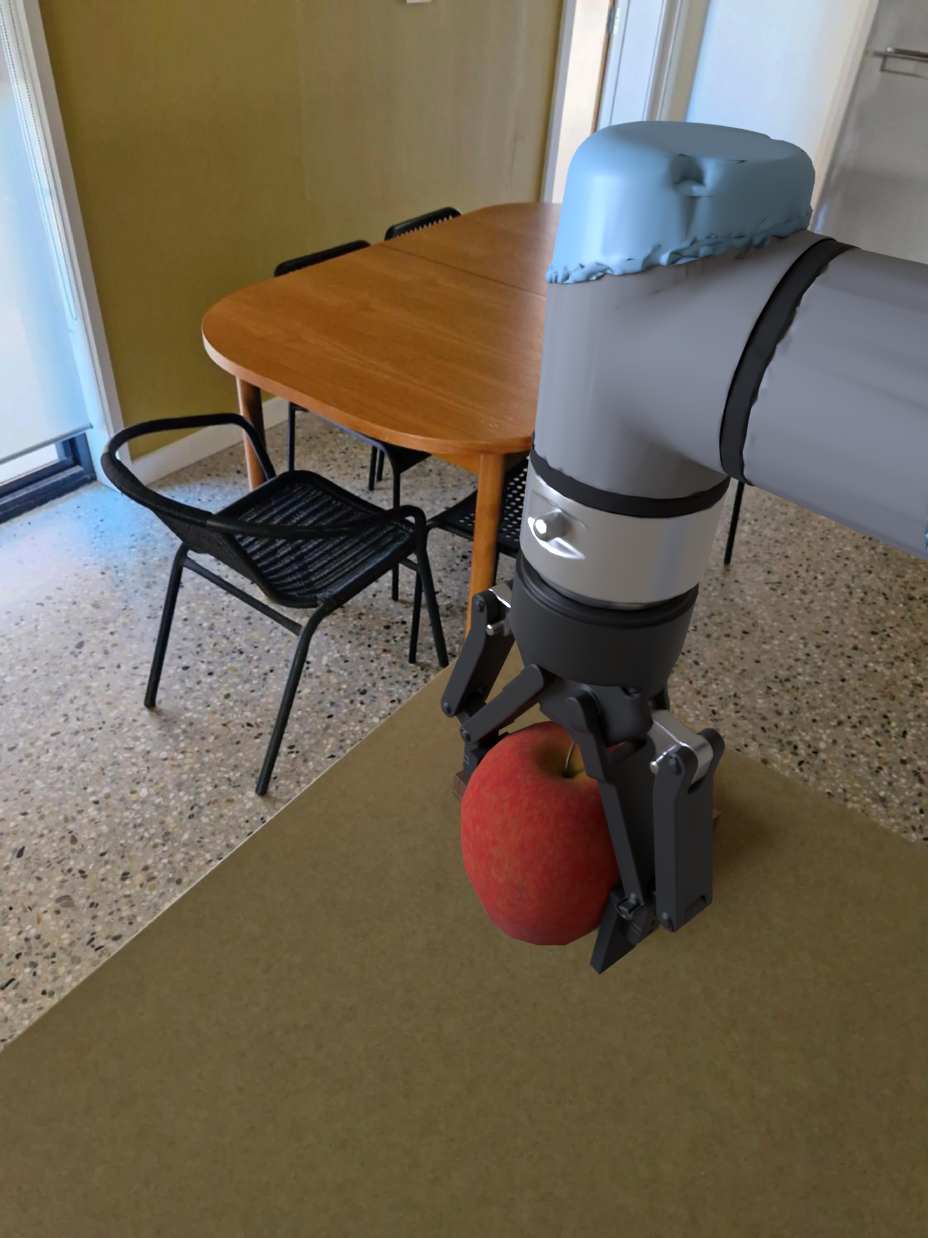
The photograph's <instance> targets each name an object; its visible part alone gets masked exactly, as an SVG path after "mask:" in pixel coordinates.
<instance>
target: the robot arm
mask: <svg viewBox="0 0 928 1238" xmlns="http://www.w3.org/2000/svg"><path fill="white" fill-rule="evenodd" d="M565 179H566V180H565V186H564V192H563V197H562V203H561V208H560V215H559V220H558V224H557V225H558V227H557V231H556V237H555V244H554V248H553V254H552V260H551V263H549V265H548V266H547V268H546V271H545V278H544V281H545V282H546V284H547V287H546V297H545V298H546V299H545V311H544V312H545V313H544V322H543V323H544V325H543V326H544V327H543V335H542V336H543V338H542V347H541V349H542V350H541V361H540V373H539V375H540V376H539V386H538V393H537V394H538V396H537V404H536V414H535V423H534V430H533V431H532V433H531V445H530V451H529V454H528V455H529V456H528V464H527V473H526V481H525V489H524V497H523V506H522V515H521V522H520V523H521V524H520V531H519V545H520V548H519V550H518V551H517V555H516V558H515V565H514V572H513V573H514V574H513V577H512V578H509V579H507V580H505V581H502V582H500V583H498V584H496V585H493V586H491V587H489V588H487V589H484V590H481V591H479V592H477V593H475V594H473V595H472V597H471V605H470V606H471V607H470V608H471V609H470V628H469V630H468V633H467V635H466V638H465V640H464V643H463V645H462V647H461V649H460V652H459V655H458V657H457V659H456V662H455V664H454V667H453V668H452V671H451V674H450V676H449V679H448V681H447V683H446V686H445V689H444V691H443V693H442V696H441V698H440V708H441V711H442V712H443V714H444V715H445V716H446V717H447V718H448V719H452V718H455V717H456V719H457V721H458V722H459V723H460V726H459V735H460V738H461V739H462V741H463V743H464V746H463V747H464V748H463V757H462V758H463V759H462V770H464V774H465V775H466V776H467V783H466V788H467V785H468V783H469V780H470V778H471V775H472V774H473V772H474V771H475V769H476V768H477V767H478V765H479V764H480V762H481V761H482V760H483V758H484V757H485V755H486V754H487V753H488V752H489V751H490V750H491V749H492V748H493V747H494V746H495V745H496V744H498V743H499V742H500V741H501V740H502V739H503V738H504V737H505V736H506V735H507V734H510V733H511V732H509V731H508V730H506V731H505V732H502V733H501V734H500V731H501V730H503V729H505V728H507V727H509V726H510V725H513V724H514V723H515V722H516V720H517V719H518V718H520V717H521V716H522V715H523V714H525V713H526V712H527V711H529V710H530V709H532V708H533V707H534V706H536V705H537V704H538V705H539V708H538V710H539V711H540V712H541V714H543V715H544V716H545V717H546V718H548V719H549V721H553V722H555V723H557V724H559V725H560V726H562V727H563V728H564V730H565V731H566V732H567V733H568V734H569V736H570V737H571V738H572V739H573V740H574V741H575V742H576V743H577V744H578V745H579V748H580V752H581V756H582V760H583V764H584V768H585V772H586V774H587V776H588V777H589V778H592V779H596V781H597V783H598V787H599V791H600V795H601V799H602V803H603V807H604V811H605V815H606V819H607V823H608V827H609V832H610V836H611V840H612V844H613V848H614V852H615V856H616V860H617V864H618V868H619V872H620V876H621V880H622V883H620V884H619V885H617V886H616V887H615V888H613V889H612V890H610V893H609V896H608V900H607V903H606V907H605V910H604V914H603V918H602V921H601V925H600V926H599V927H598V928H599V929H598V932H597V936H596V938H595V943H594V946H593V950H592V954H591V957H590V961H589V965H590V966H591V968H593V970H594V971H595V972H596V973H597V974H598V976H601V975H602V974H603V973H604V972H605V971H607V970H609V968H611V967H612V966H613V965H615V964H616V963H617V962H618V961H620V960H621V959H622V958H623V957H625V956H626V955H628V954H629V953H630V952H631V951H633V950H634V949H635V948H636V947H637V945H638V944H640V943H641V942H643V941H644V940H645V939H647V938H648V937H649V936H650V935H652V934H653V933H654V932H656V931H657V930H658V929H659V927H660V925H661V926H662V927H663V928H664V929H665V930H666V931H668V932H670V933H676V932H677V931H679V930H680V929H681V928H682V927H684V926H685V925H687V924H688V923H689V922H690V921H692V920H693V919H694V918H696V916H698V915H699V914H700V913H702V912H703V911H704V910H705V909H707V908H708V907H709V906H710V905H711V904H712V903H713V897H714V896H713V892H714V891H713V887H714V886H713V885H714V884H713V882H714V880H713V878H714V876H713V875H714V873H713V872H714V869H713V868H714V867H713V866H714V865H713V864H714V863H713V862H714V860H713V857H714V852H713V851H714V849H713V848H714V832H713V807H714V775H715V773H716V771H717V768H718V766H719V764H720V761H721V759H722V757H723V755H724V753H725V750H726V749H725V748H726V744H725V743H726V742H725V739H724V738H723V736H722V735H721V734H720V733H719V731H717V729H714V728H712V727H705V728H703V729H702V730H700V731H699V732H697V733H695V732H694V731H693V730H692V729H691V728H690V727H688V726H687V725H686V724H685V723H683V722H682V721H681V720H680V719H679V718H678V717H676V716H675V715H674V714H673V713H672V712H671V700H670V696H669V689H668V688H669V687H668V683H669V678H670V675H671V673H672V671H673V670H674V667H675V666H676V664H677V662H678V660H679V658H680V656H681V653H682V651H683V648H684V645H685V642H686V638H687V634H688V631H689V627H690V623H691V620H692V617H693V614H694V613H693V612H694V609H695V605H696V603H697V599H698V595H699V592H700V581H701V579H703V577H704V575H705V572H706V569H707V566H708V562H709V560H710V559H709V558H710V555H711V551H712V548H713V544H714V540H715V536H716V533H717V529H718V527H719V522H720V519H721V514H722V512H723V507H724V504H725V500H726V497H727V493H728V489H729V488H730V484H731V481H732V479H733V480H737V481H738V482H741V483H744V484H746V485H747V486H750V487H753V488H754V487H755V488H757V489H758V488H759V489H760V490H762V491H765V492H767V493H768V494H769V493H770V494H771V495H774V496H776V497H779V498H780V499H783V500H785V501H788V502H790V503H792V504H794V505H797V506H798V507H802V508H804V509H806V510H808V511H811V512H813V513H815V514H817V515H819V516H822V517H824V518H826V519H828V520H831V521H833V522H835V523H838V524H839V525H841V526H842V525H843V526H845V527H847V528H848V529H851V530H854V531H856V532H858V533H860V534H863V535H865V536H867V537H869V538H872V539H873V540H876V541H879V542H880V543H883V544H886V545H888V546H890V547H892V548H894V549H897V550H899V551H901V552H903V553H906V554H908V555H910V556H913V557H915V558H917V559H919V560H922V561H923V562H926V563H928V264H927V263H924V262H919V261H914V260H910V259H906V258H901V257H896V256H892V255H888V254H883V253H879V252H875V251H871V250H867V249H862V248H861V247H859V246H856V245H853V244H849V243H845V242H841V241H838V240H837V239H835V238H834V237H833V236H829V235H825V234H820V233H817V232H814V231H811V230H809V227H810V225H811V220H812V217H813V212H814V209H813V207H812V204H811V203H812V198H813V194H814V189H815V184H816V169H815V166H814V164H813V160H812V158H811V157H810V156H809V154H808V153H807V152H806V150H804V149H802V148H801V147H800V146H798V145H796V144H794V143H792V142H789V141H786V140H783V139H775V138H771V137H770V135H767V134H766V133H762V132H760V131H759V132H758V131H754V130H751V129H750V130H749V129H746V128H739V127H734V126H727V125H721V124H715V123H714V124H713V123H706V122H705V123H704V122H693V121H692V122H691V121H679V120H678V121H676V120H637V121H629V122H622V123H617V124H611V125H608V126H605V127H602V128H600V129H598V130H597V131H595V132H594V133H592V134H590V135H589V136H587V137H586V138H585V139H584V140H583V141H582V143H580V145H579V146H577V148H576V150H575V152H574V153H573V155H572V156H571V160H570V163H569V165H568V169H567V174H566V178H565ZM515 642H516V645H517V649H518V651H519V654H520V658H521V661H522V664H523V667H524V668H523V669H521V671H520V672H519V673H518V674H517V675H516V676H515V677H514V678H512V679H511V680H510V681H509V682H508V683H507V684H505V686H503V687H502V688H501V691H500V692H499V693H498V694H497V695H496V696H494V697H493V698H491V700H490V701H489V702H486V701H487V700H488V697H489V695H490V694H491V691H492V689H493V687H494V685H495V684H496V681H497V679H498V678H499V675H500V673H501V671H502V669H503V667H504V665H505V662H506V660H507V659H508V656H509V655H510V652H511V650H512V648H513V646H514V644H515ZM623 742H625V743H623ZM620 743H623V744H621V745H620V746H618V747H616V748H615V749H613V750H611V751H610V752H608V753H607V750H606V748H609V747H612V746H615V745H618V744H620ZM654 757H655V758H656V759H655V760H653V759H654ZM655 774H656V776H655Z"/></svg>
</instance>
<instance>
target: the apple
mask: <svg viewBox="0 0 928 1238" xmlns="http://www.w3.org/2000/svg"><path fill="white" fill-rule="evenodd" d="M509 733H510V734H507V735H506V736H505V737H504V738H503V739H502V740H501V741H500V742H499V743H498V744H496V745H495V746H494V747H493V748H492V749H491V750H490V751H489V752H488V753H487V754H486V755H485V757H484V758H483V760H482V761H481V762H480V764H479V765H478V767H477V768H476V769H475V771H474V772H473V774H472V775H471V778H470V780H469V783H468V785H467V788H466V790H465V793H464V795H463V798H462V801H460V844H461V850H462V852H461V853H462V860H463V866H464V867H463V868H464V871H465V873H466V875H467V877H468V880H469V881H470V884H471V885H472V887H473V889H474V891H475V893H476V895H477V897H478V900H479V902H480V903H481V905H482V906H483V908H484V910H485V912H486V914H487V916H488V917H489V918H488V919H489V920H490V921H491V922H492V923H493V924H494V925H496V926H497V927H498V928H499V929H501V931H503V932H504V933H505V934H507V935H508V936H509V937H510V938H511V939H515V940H518V941H522V942H525V943H528V944H531V945H535V946H567V945H569V944H571V943H573V942H575V941H578V940H579V939H582V938H583V937H585V936H587V935H589V934H590V933H592V932H593V931H595V930H596V929H598V928H600V925H601V921H602V918H603V914H604V910H605V907H606V903H607V900H608V896H609V893H610V890H612V889H613V888H615V887H616V886H617V885H619V884H620V883H622V880H621V876H620V872H619V868H618V864H617V860H616V856H615V852H614V848H613V844H612V840H611V836H610V832H609V827H608V823H607V819H606V815H605V811H604V807H603V803H602V799H601V795H600V791H599V787H598V783H597V781H596V779H592V778H589V777H588V776H587V774H586V772H585V768H584V764H583V760H582V756H581V752H580V748H579V745H578V744H577V743H576V742H575V741H574V740H573V739H572V738H571V737H570V736H569V734H568V733H567V732H566V731H565V730H564V728H563V727H562V726H560V725H559V724H557V723H555V722H553V721H552V720H546V721H539V722H534V723H532V724H530V725H527V726H525V727H522V728H519V729H517V730H515V731H512V732H509ZM618 746H620V745H619V744H618V745H615V746H612V747H609V748H606V750H607V753H608V752H610V751H611V750H613V749H615V748H616V747H618Z"/></svg>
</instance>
